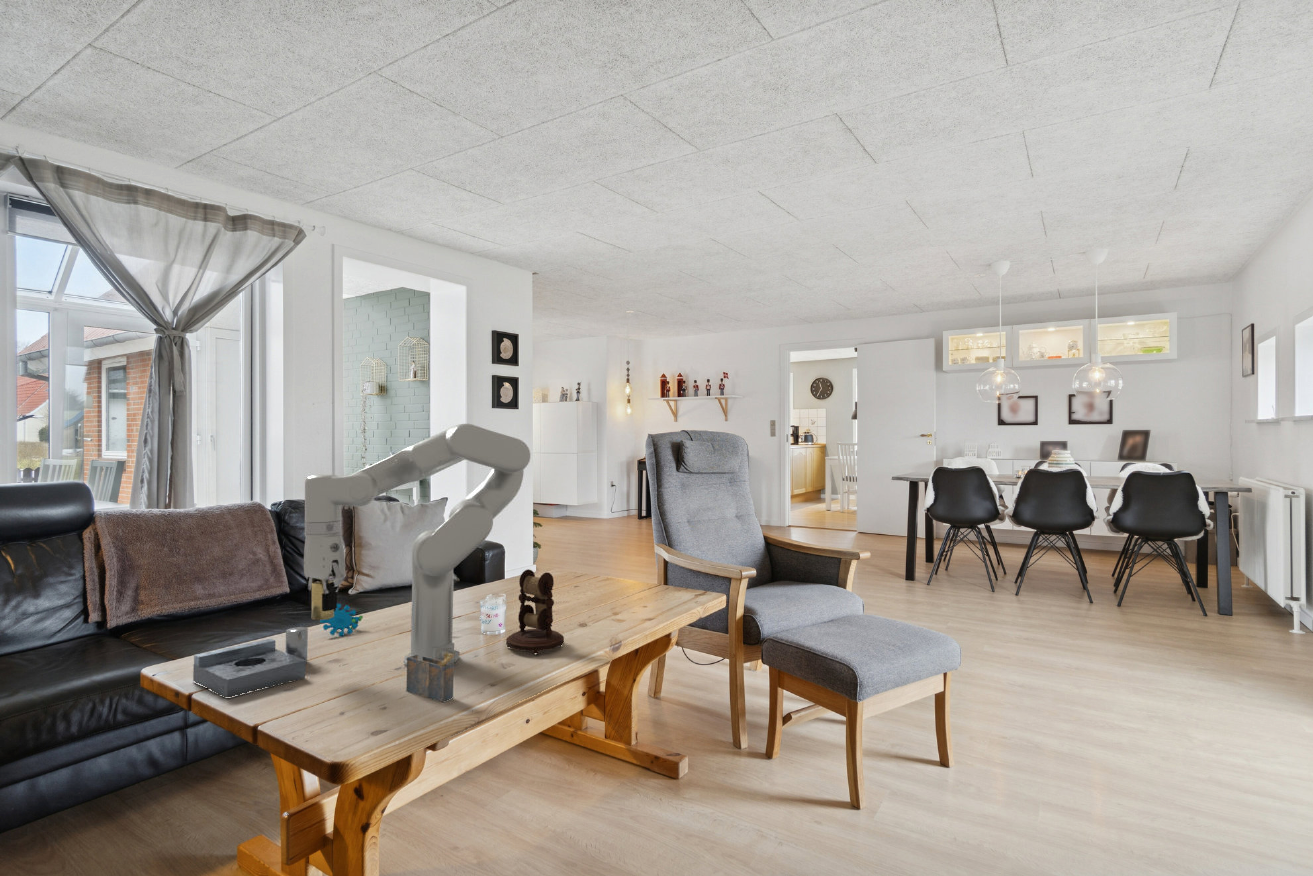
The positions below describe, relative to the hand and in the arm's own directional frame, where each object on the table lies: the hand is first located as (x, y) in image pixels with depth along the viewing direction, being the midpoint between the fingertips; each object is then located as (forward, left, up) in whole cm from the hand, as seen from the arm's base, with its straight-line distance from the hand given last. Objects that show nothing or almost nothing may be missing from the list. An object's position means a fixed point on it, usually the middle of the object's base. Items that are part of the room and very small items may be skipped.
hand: (323, 607), depth 157 cm
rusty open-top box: (-31, -6, -15) cm, 35 cm away
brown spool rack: (-25, -43, -15) cm, 52 cm away
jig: (+7, +12, -15) cm, 21 cm away
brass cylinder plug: (0, 0, -2) cm, 2 cm away
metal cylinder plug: (+11, 0, -15) cm, 18 cm away
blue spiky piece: (+27, -20, -15) cm, 37 cm away
